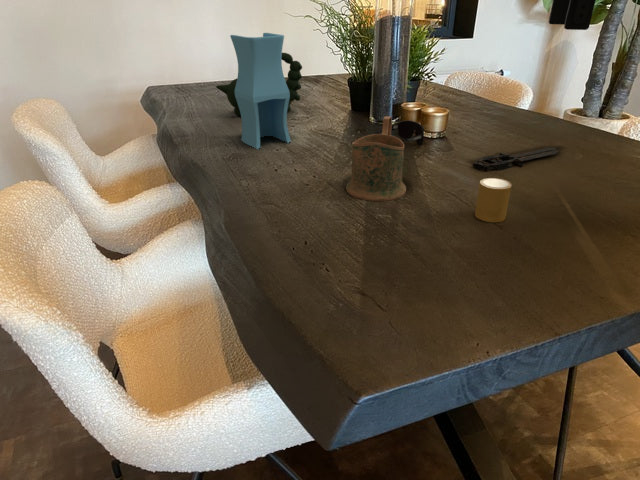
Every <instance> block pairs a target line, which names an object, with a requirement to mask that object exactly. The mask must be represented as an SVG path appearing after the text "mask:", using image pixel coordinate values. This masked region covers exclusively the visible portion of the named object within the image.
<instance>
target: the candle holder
mask: <svg viewBox="0 0 640 480" xmlns="http://www.w3.org/2000/svg"><path fill="white" fill-rule="evenodd" d="M478 185H479V186H478V192H477V199H476V205H475V210H474V211H475V212H474V216H475V217H476V218H477V220H479V221H482V222H487V223H501V222H504V221H505V220H506V217H507V212H508V207H509V201H510V197H511V196H510V195H511V191H512V182H510V181H508V180H505V179H502V178H497V177H495V178H494V177H490V178H489V177H488V178H483V179H481V180H480V181H479V184H478Z"/></svg>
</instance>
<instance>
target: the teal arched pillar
mask: <svg viewBox="0 0 640 480" xmlns="http://www.w3.org/2000/svg"><path fill="white" fill-rule="evenodd" d="M229 37H230V39H231V42H232V45H233V48H234V50H235V51H234V52H235V55H236V56H235V57H236V61H237V83H236V87H235V97H236V100H237V103H238V106H239V110H240V113H241V116H240V118H241V142H242V141H243V142H242V143H244V144H246V145H247V146H250V147H251V146H252V148H253V147H254V149H255V148H256V149H255V150H260V149H261V138H264V136H273V138H275V137H276V138H275V139H277V138H278V140H280V141H282V142H284V141H285V142H284V143H286V142H287V143H286V144H290V143H289V142H291V143H292V140H291V137H290V132H289V128H288V112H287V109H288V104H289V99H290V92H289V89H288V87H287V84H286V81H287V80H286V78H285V76H284V73H283V72H284V71H283V64H282V61H283V60H282V59H281V58H282V53H283V46H284V40H285V35H284V34H279V33H272V32H263V33H262V36H256V37H255V36H242V35H237V34H230V35H229ZM259 148H260V149H259Z"/></svg>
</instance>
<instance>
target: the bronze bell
mask: <svg viewBox="0 0 640 480" xmlns="http://www.w3.org/2000/svg"><path fill="white" fill-rule="evenodd" d="M392 126H393V118H392V116H391V115H385V116H384V117H383V118H382V129H381V130H382V132H381V133H377V134H374V133H372V134H368V135H364V136H362V137H359V138H358V139H356V140H354V141H353V142H352V144H351V145H352V147H351V149H352V151H351V177H350V181H348V182H347V184H346V188H345V189H346V190H345V191H346V192H347V193H348V194H349V195H351V196H352V197H354V198H357V199H360V200H363V201H368V202H369V201H370V202H386V201H387V202H388V201H393V200H396V199H399V198H401V197H403V196H404V195H406V193H407V187H406V184H404V182H403V167H404V160H405V159H404V157H405V143H404V142H402V141H401V140H402V139H400V138H399V137H397V136H394V135H392V131H391V127H392Z"/></svg>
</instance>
